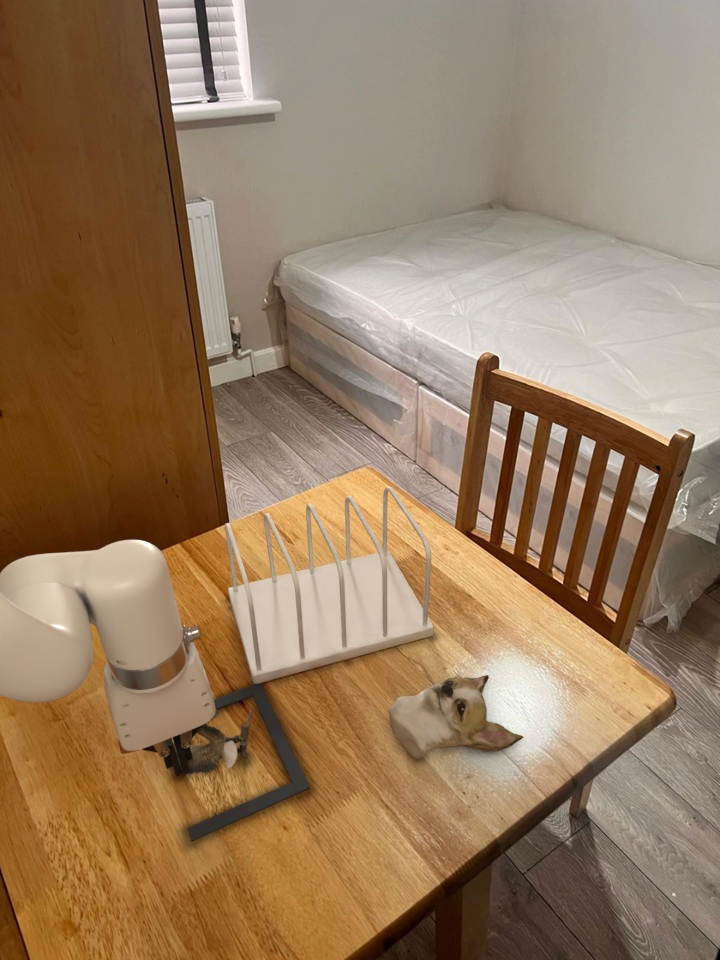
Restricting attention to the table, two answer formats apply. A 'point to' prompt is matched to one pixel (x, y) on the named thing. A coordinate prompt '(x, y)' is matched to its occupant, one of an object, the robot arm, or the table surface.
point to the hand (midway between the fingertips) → (179, 764)
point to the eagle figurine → (217, 748)
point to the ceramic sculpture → (448, 719)
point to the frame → (284, 751)
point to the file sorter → (326, 603)
